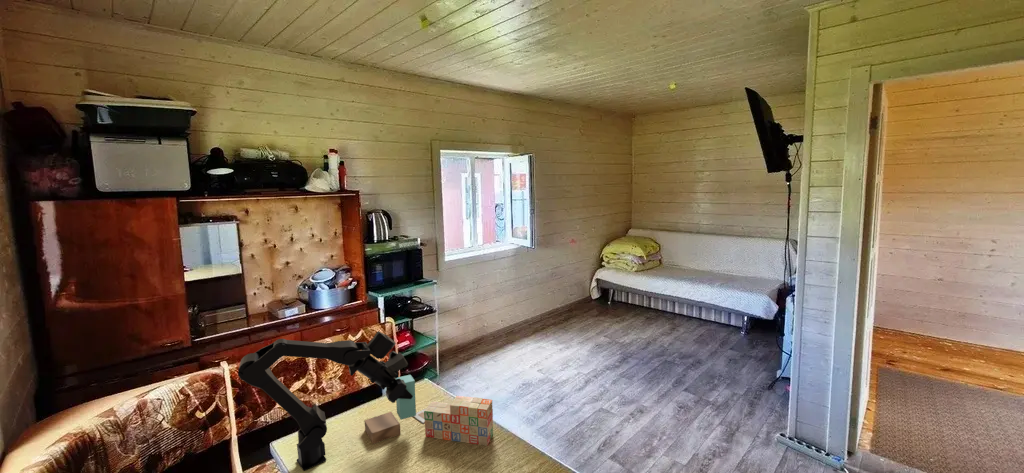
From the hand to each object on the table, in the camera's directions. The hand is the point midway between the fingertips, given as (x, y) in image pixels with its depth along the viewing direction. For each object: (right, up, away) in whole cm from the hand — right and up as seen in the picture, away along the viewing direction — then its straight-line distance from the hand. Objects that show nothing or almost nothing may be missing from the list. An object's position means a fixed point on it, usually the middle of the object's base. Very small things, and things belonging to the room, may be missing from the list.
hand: (409, 394), depth 140 cm
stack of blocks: (+16, -13, -1) cm, 21 cm away
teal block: (-1, -7, 0) cm, 7 cm away
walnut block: (-9, -13, +2) cm, 17 cm away
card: (+4, -11, +12) cm, 17 cm away
